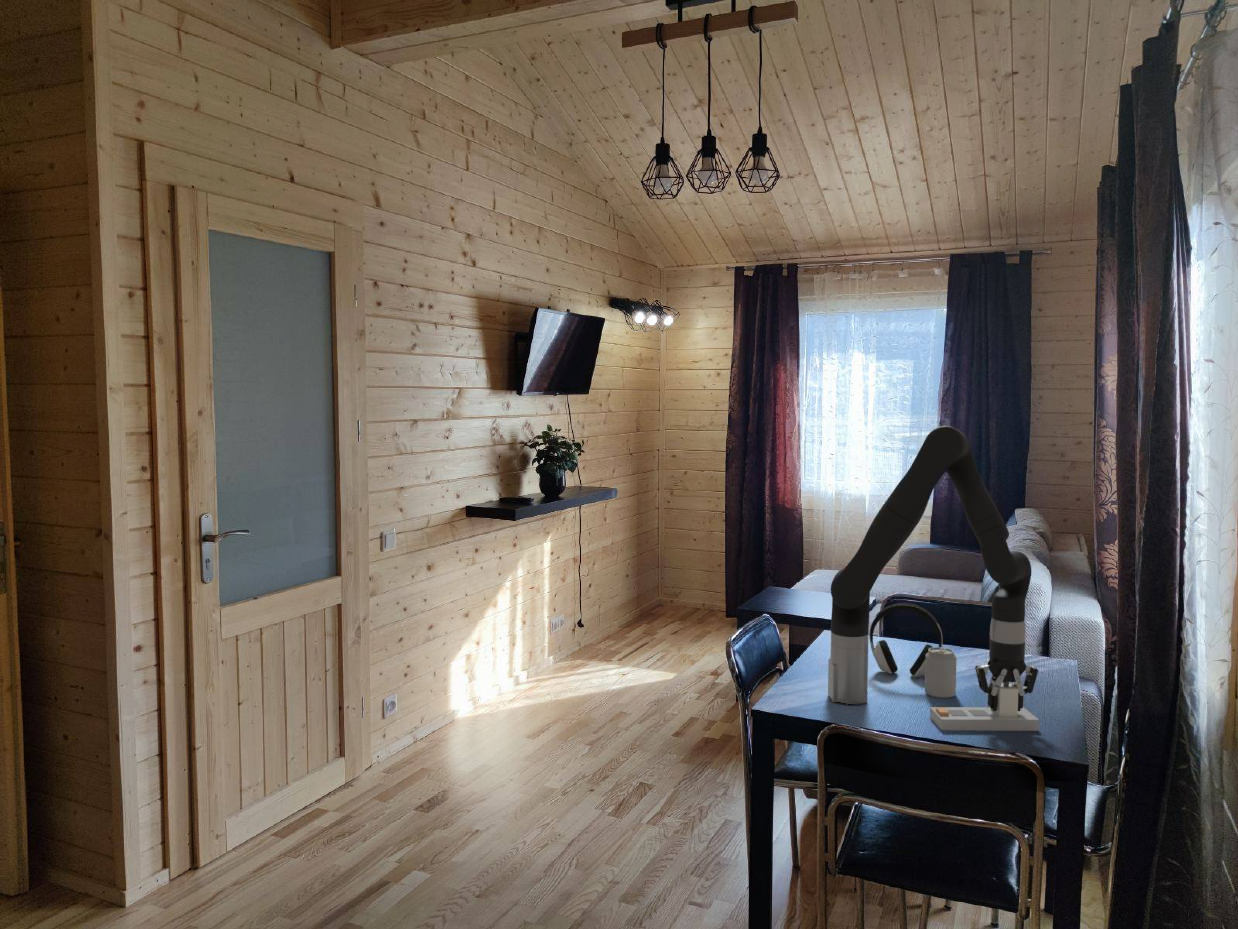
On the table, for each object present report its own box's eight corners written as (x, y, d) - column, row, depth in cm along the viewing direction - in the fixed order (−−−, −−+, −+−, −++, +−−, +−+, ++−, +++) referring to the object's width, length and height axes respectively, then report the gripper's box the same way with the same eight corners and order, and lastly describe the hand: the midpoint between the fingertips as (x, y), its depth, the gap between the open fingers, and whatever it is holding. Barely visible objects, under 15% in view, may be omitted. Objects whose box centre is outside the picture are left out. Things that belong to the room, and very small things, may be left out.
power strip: (941, 732, 205) (941, 716, 205) (929, 719, 213) (930, 704, 213) (1038, 732, 205) (1038, 716, 204) (1023, 720, 213) (1024, 704, 212)
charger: (999, 727, 207) (1001, 680, 206) (992, 720, 211) (994, 675, 210) (1017, 727, 207) (1018, 680, 206) (1010, 720, 211) (1011, 675, 210)
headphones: (866, 675, 247) (868, 603, 245) (870, 666, 254) (871, 597, 253) (941, 683, 239) (942, 609, 238) (942, 674, 247) (944, 603, 246)
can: (919, 695, 230) (920, 649, 229) (933, 689, 235) (934, 644, 234) (947, 702, 225) (948, 655, 224) (960, 695, 230) (961, 649, 229)
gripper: (982, 642, 204) (980, 715, 205) (1046, 642, 203) (1043, 716, 205) (970, 633, 211) (968, 704, 212) (1031, 633, 211) (1029, 704, 212)
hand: (1005, 709), depth 208 cm, fingers open, 5 cm apart
